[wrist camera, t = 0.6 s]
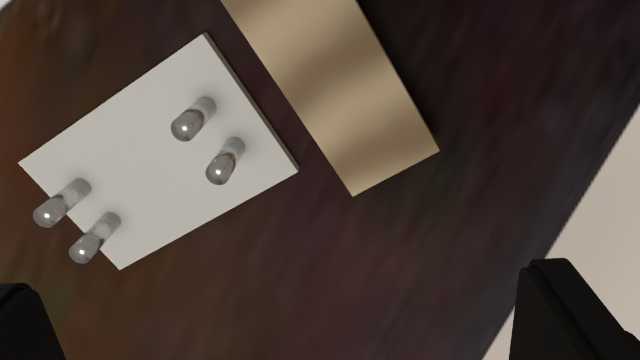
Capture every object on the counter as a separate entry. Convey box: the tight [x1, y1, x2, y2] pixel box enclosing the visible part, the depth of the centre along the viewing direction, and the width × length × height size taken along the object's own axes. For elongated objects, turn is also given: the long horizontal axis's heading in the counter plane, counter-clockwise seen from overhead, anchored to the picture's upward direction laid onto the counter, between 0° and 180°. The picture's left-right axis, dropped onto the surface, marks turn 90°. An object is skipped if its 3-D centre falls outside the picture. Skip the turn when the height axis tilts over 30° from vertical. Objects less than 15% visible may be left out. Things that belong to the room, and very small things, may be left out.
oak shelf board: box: [221, 0, 440, 196], centre depth 31 cm, size 18×7×4 cm, turn 33°
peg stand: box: [19, 32, 299, 270], centre depth 34 cm, size 19×12×6 cm, turn 122°
